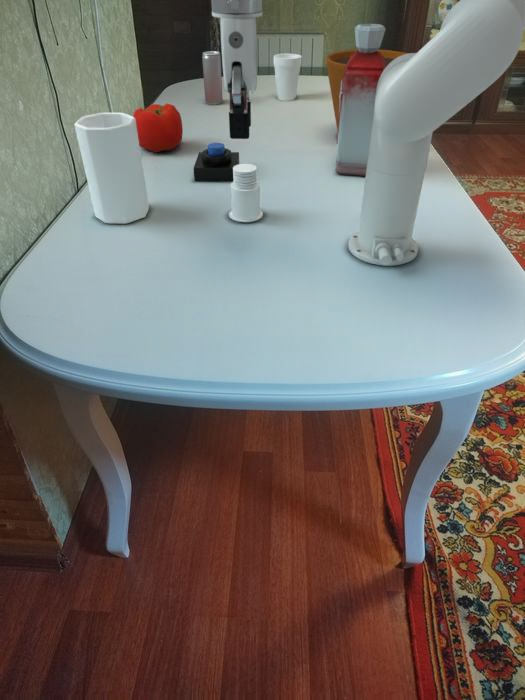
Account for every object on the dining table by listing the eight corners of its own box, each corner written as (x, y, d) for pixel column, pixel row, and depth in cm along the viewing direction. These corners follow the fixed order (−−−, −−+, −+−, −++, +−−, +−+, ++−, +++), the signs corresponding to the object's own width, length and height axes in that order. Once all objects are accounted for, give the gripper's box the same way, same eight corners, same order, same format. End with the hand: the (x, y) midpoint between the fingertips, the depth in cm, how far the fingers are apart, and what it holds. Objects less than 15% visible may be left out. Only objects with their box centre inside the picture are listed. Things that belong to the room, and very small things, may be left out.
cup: (92, 206, 109) (71, 115, 97) (144, 199, 112) (130, 109, 100) (98, 228, 101) (76, 131, 89) (154, 219, 104) (140, 125, 92)
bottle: (374, 178, 121) (394, 30, 101) (331, 175, 122) (343, 29, 103) (376, 157, 132) (395, 21, 112) (336, 155, 133) (348, 19, 114)
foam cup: (269, 96, 180) (270, 54, 172) (294, 94, 182) (295, 52, 174) (278, 102, 173) (279, 59, 165) (303, 100, 175) (305, 57, 167)
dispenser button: (224, 156, 119) (223, 148, 118) (207, 156, 119) (206, 148, 118) (225, 151, 122) (225, 142, 121) (209, 151, 122) (208, 142, 121)
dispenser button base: (236, 181, 119) (236, 160, 116) (194, 181, 120) (192, 160, 116) (239, 164, 128) (238, 144, 125) (199, 164, 128) (198, 144, 125)
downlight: (268, 220, 103) (269, 172, 97) (236, 226, 101) (234, 177, 95) (254, 205, 109) (254, 158, 103) (223, 210, 107) (221, 163, 101)
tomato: (151, 160, 131) (145, 117, 124) (127, 147, 138) (120, 106, 132) (195, 149, 137) (192, 107, 130) (170, 137, 145) (165, 97, 138)
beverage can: (203, 101, 175) (199, 51, 165) (219, 99, 177) (216, 50, 167) (208, 105, 171) (205, 55, 161) (225, 103, 173) (223, 53, 163)
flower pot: (341, 120, 157) (348, 46, 144) (416, 132, 148) (430, 54, 135) (306, 141, 141) (310, 60, 129) (387, 156, 132) (400, 70, 119)
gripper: (261, 11, 68) (261, 149, 79) (263, -3, 81) (263, 117, 92) (205, 11, 68) (213, 149, 79) (216, -3, 81) (222, 117, 93)
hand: (240, 131), depth 86 cm, fingers open, 5 cm apart
